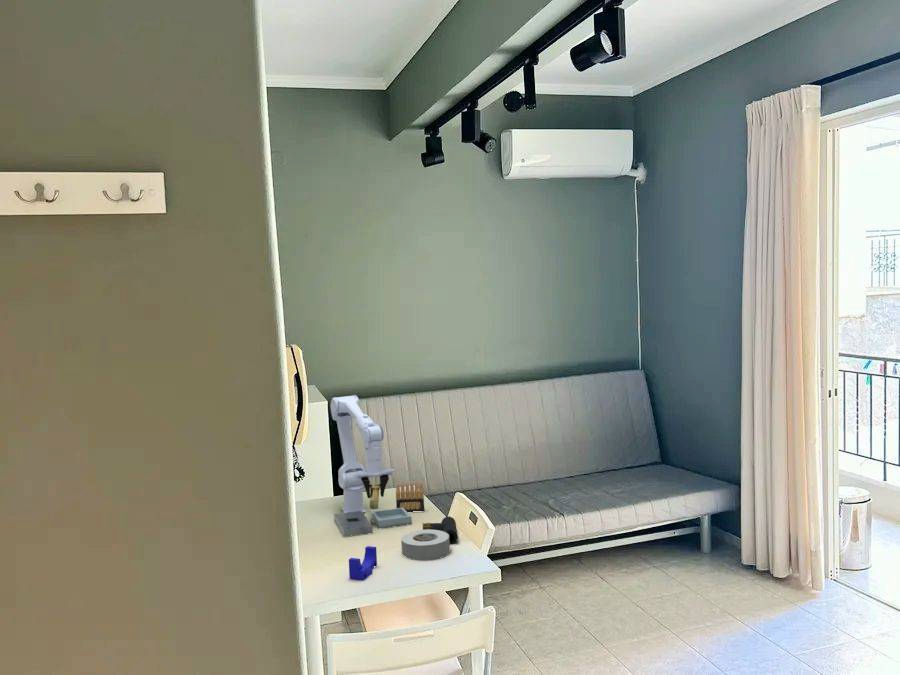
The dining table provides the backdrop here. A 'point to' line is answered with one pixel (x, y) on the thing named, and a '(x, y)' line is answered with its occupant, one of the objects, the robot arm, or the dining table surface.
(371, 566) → the cable clip
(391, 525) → the tray
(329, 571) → the dining table surface
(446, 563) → the dining table surface
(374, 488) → the gold flared cylinder
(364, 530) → the metal plate with hole
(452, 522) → the black power drill
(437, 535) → the tape roll
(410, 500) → the ammunition clip
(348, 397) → the robot arm
